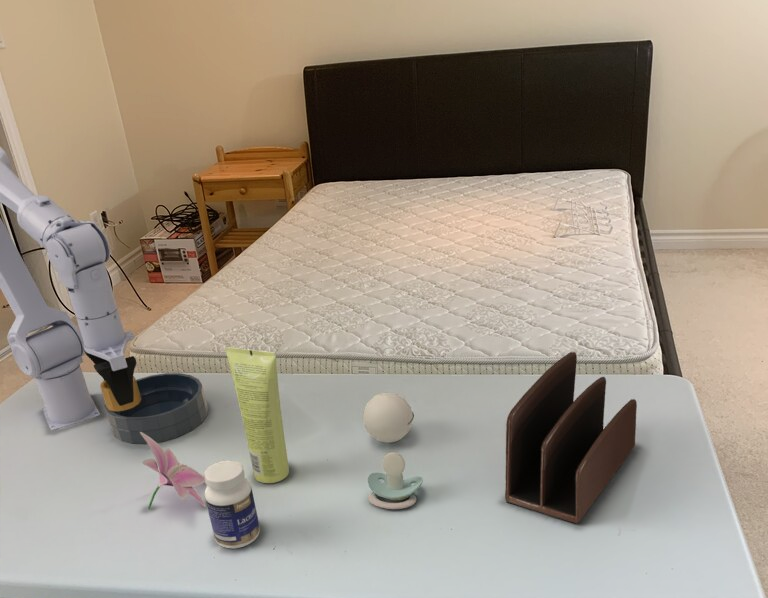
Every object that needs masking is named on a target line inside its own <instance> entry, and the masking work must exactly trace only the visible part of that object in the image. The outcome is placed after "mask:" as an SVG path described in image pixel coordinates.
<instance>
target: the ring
mask: <svg viewBox="0 0 768 598" xmlns="http://www.w3.org/2000/svg"><path fill="white" fill-rule="evenodd" d="M136 380H137V379H136V377H135V376H134V375H133V392H134V400H133V402H131V403H128V404H125V405H122V406H120V405H119V404H118V402H117V401H116V399H115V397H114V396H113V394H112V391H111V389H110V387H109V385H108V384H107V382H106V381H104V380H103V381H102V382H101V384H100V385H99V388H100V391H101V394H102V396H103V399H104V404H105V403H106V406H107V408H108V410H111V411H124V410H127V409H130V408H133V407H135V406H136V405H138V404H139V403H140V401H141V396H140V393H139V389H138V386H137V382H136Z"/></svg>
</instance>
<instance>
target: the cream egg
mask: <svg viewBox="0 0 768 598" xmlns="http://www.w3.org/2000/svg"><path fill="white" fill-rule="evenodd" d="M362 418H363V419H362V422H363V426H364V428H365V430H366V432H367V433H368V434H369V435H370V437H371V438H373V439H375V440H376V441H378V442H381V443H386V444H387V443H388V444H389V443H395V442H398V441H400V440H402V438H404V437H405V436H407V435H408V433H409V431H410V430H411V428H412V425H413V420H414V418H415V415H414V412H413V410H412V407H411V405H410V404H409V403H408V401H407V400H406V398H404V397H402V396H401V395H399V394H398V393H394V392H383V393H379V394H376V395H374V396H373V397H372V398H371V399H369V401H368V402H367V404H366V405H365V407H364V410H363V417H362Z"/></svg>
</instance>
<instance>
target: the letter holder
mask: <svg viewBox="0 0 768 598" xmlns="http://www.w3.org/2000/svg"><path fill="white" fill-rule="evenodd" d="M577 357H578V355H577V353H576V352H575V351H570V352H568V353H566V354H565V355H563V356H562V357H561V358H560V359H558V360H557V361H555V363H554V364H553V365H551V366H550V367H549V368H548V369H547V370H546V371H545V372H544V373H543V374H542V375H540V377H539V378H538V379H537V380H536V381H535V382H534V383H533V384H532V385H531V386H530V388H528V390H527V391H526V392H524V394H523V395H522V396H521V397H520V398H519V400H518V401H517V403H515V405H513V407H512V408H511V410H510V411H509V413H508V415H507V419H506V425H505V427H506V428H505V429H506V431H505V490H504V491H505V493H504V499H505V502H506V503H507V504H511V505H512V504H513V505H515V506H518V507H521V508H524V509H528V510H530V511H531V510H532V511H535V512H538V513H540V514H544V515H547V516H550V517H553V518H556V519H560V520H563V521H566V522H569V523H572V524H575V525H577V524H580V523H581V520H582V519H583V518H584V517H585V515H586V514H587V512H588V511H589V510H590V509H591V507H592V505H594V503H595V502H596V501H597V499H598V497H599V496H600V494H601V493H602V492H603V491H604V489H605V488H606V487H607V485H608V484H609V482H611V479H612V478H613V477H614V476H615V474H616V473H617V471H618V470H619V469H620V468H621V466H622V465H623V463H624V462H625V460H626V459H627V458H628V456H629V455H630V453H631V452H632V451H633V449H634V448H635V446H636V430H637V408H638V404H637V400H636V399H634V398H632V399H630V400H629V401H627V403H625V404H624V405H623V406H622V407H621V408H620V409H619V410H618V411H617V412H616V414H614V416H613V417H612V418H611V420H610V421H609V422H608V423H607V424H606V426H605V427H604V419H605V406H606V405H605V404H606V403H605V402H606V388H607V378H606V377H605V376H601V377H599V378H597V379H596V380H595V381H594V382H592V383H591V384H590V385H589V386H588V387H586V389H584V390H583V391H582V392H581V393H580V394H579V395H578V396H577V397H576V398H575V390H576V389H575V387H576V386H575V385H576V377H577V376H576V375H577V360H578V358H577Z"/></svg>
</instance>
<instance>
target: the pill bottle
mask: <svg viewBox="0 0 768 598" xmlns="http://www.w3.org/2000/svg"><path fill="white" fill-rule="evenodd" d="M203 477H204V478H205V483H204V484H205V485H206V488H205V489H204V490H205V491H204V499H205V503H206V504H205V505H206V508H207V511H208V512H207V513H208V515H209V520H210V524H211V529H212V534H213V537H214V541H215V542H216V543H217V544H218V545H219V546H220V547H223V548H225V549H240V548H243V547H247V546H248V545H250V544H252V543H253V542H254V541H255V540H257V538H258V537H259V535H260V532H261V526H260V522H259V517H258V512H257V507H256V501H255V498H254V497H255V496H254V493H253V487H252V484H251V482H250V480H248V478H247V477H246V476H245V470H244V467H243V465H242V463H241V462H239V461H236V460H221V461H218V462H215V463H213V464H211V465H209V466H208V467H207V468H206V469H205V470H204V473H203Z"/></svg>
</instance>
